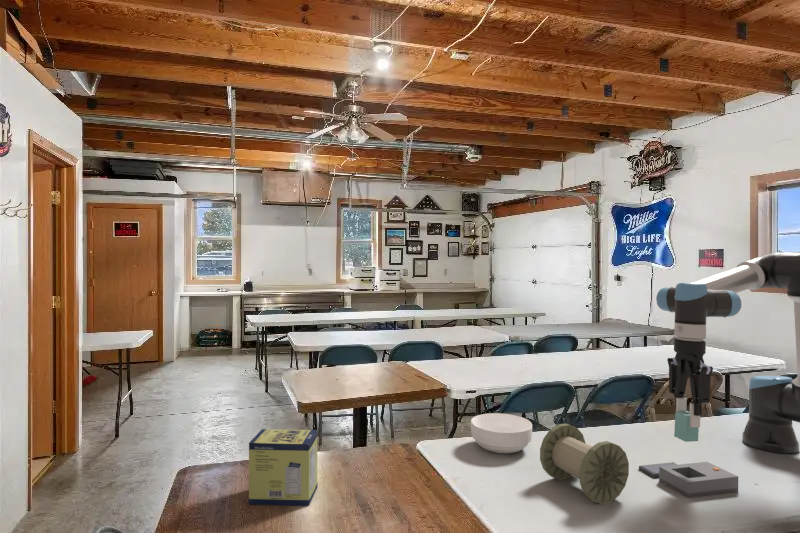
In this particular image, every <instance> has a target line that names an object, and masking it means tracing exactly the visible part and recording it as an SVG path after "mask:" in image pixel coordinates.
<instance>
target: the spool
mask: <svg viewBox="0 0 800 533" xmlns="http://www.w3.org/2000/svg"><path fill="white" fill-rule="evenodd" d="M539 462H540V464H541V466H542V469H543V470H544V471H545V473H547V475H549V477H551V478H553V479H556V480H559V481H560V480H561V481H562V480H565V479H569V478H572V477H574V478H576V479H578V480H579V484H580V487H581V490H582V493H583V494H584V495H585V496H586V497H587V499H588V500H590V501H592V502H594V503H597V504H601V505H604V504H608V503H611V502H613V501H615V500H616V499H617V498H618V497H619V496H620V495H621V493H622V491H623V490H624V489H625V487H626V485H627V481H628V478H629V469H630V468H629V466H630V463H629V459H628V456H627V454H626V451H625V450H623V448H622V447H621V446H620V445H618V444H615V443H613V442H610V441H608V440H606V441H599V442H597V443H596V444H594V445H593V446H592V445H590V444H587V443H586V440H585V437H584V434H583V432H581V431H580V430H579V428H578V427H576V426H574V425H571V424H568V423H559V424H556V425H555V426H554V427H552V428H550V429H549V430H548V432H546V434H545V436H544V437H543V438H542V443H541V445H540V448H539Z"/></svg>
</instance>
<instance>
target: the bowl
mask: <svg viewBox="0 0 800 533" xmlns="http://www.w3.org/2000/svg"><path fill="white" fill-rule="evenodd" d="M470 432H471V433H470V434H471V437H472V438H473V439H474V441H475V442H476V443H477V444H478V445H479V446H480V447H481V448H483V449H484V450H486V451H489V452H493V453H497V454H513V453H517V452H520V451H521V450H523V449H525V448H526V447H527V446H528V445H529V444H530V443H531V442H532V438H533V424H532V422H531V421H530V420H529V419H527V418H525V417H522V416H519V415H515V414H508V413H499V412H497V413H496V412H494V413H493V412H492V413H491V412H490V413H483V414H478V415H475V416H473V417H472V418H471V420H470Z"/></svg>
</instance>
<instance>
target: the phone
mask: <svg viewBox="0 0 800 533" xmlns="http://www.w3.org/2000/svg"><path fill="white" fill-rule="evenodd" d="M670 465H679V464H677V463H675V462H664V463H662V462H661V463H654V464H643V465H639V466H638V470H640V471H641V472H643V473H644V474H647V475H649V476H650V477H652V478H653V479H657V478H659V467H661V466H670Z"/></svg>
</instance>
